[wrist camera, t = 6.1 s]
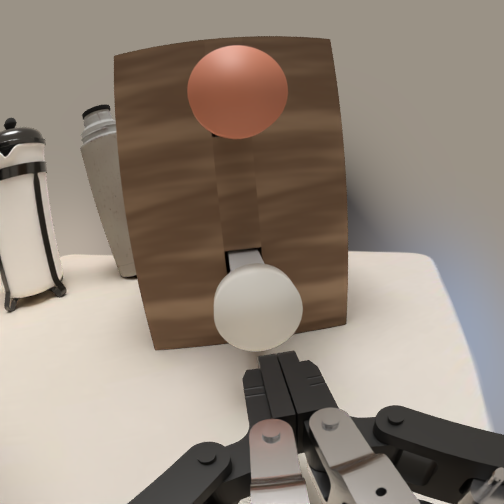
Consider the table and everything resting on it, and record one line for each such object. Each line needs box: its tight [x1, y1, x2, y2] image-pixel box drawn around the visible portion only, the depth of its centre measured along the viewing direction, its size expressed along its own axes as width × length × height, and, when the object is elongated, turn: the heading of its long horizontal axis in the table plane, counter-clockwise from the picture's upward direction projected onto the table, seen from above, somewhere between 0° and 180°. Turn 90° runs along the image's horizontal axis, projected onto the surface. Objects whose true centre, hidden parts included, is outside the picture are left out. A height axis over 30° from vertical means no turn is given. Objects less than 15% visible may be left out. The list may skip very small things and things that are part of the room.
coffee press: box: [0, 118, 66, 311], centre depth 38 cm, size 17×16×30 cm
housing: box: [114, 36, 348, 350], centre depth 30 cm, size 14×18×26 cm
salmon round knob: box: [187, 45, 288, 139], centre depth 20 cm, size 14×5×5 cm, turn 7°
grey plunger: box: [214, 248, 303, 351], centre depth 23 cm, size 14×5×5 cm, turn 7°
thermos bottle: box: [80, 105, 137, 277], centre depth 45 cm, size 8×8×28 cm
